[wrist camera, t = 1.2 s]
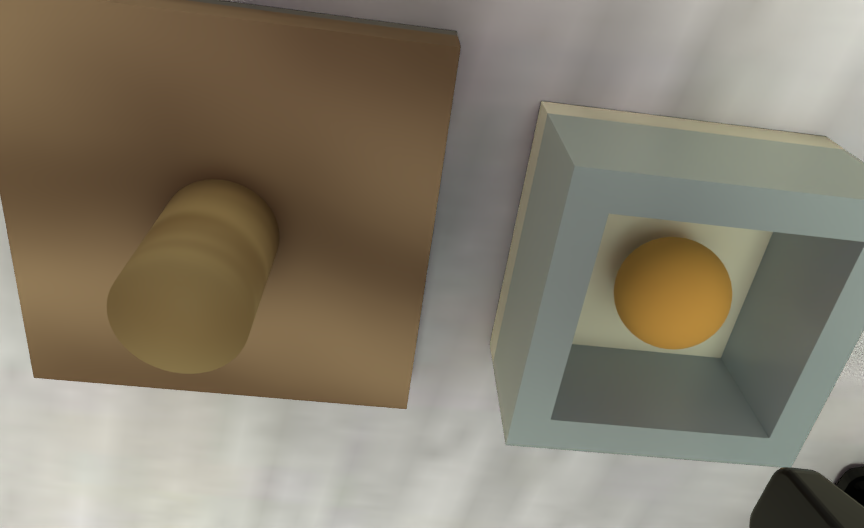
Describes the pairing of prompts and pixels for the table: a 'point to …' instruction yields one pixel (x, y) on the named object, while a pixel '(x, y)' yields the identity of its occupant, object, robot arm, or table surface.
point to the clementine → (673, 293)
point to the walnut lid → (221, 195)
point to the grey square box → (715, 229)
